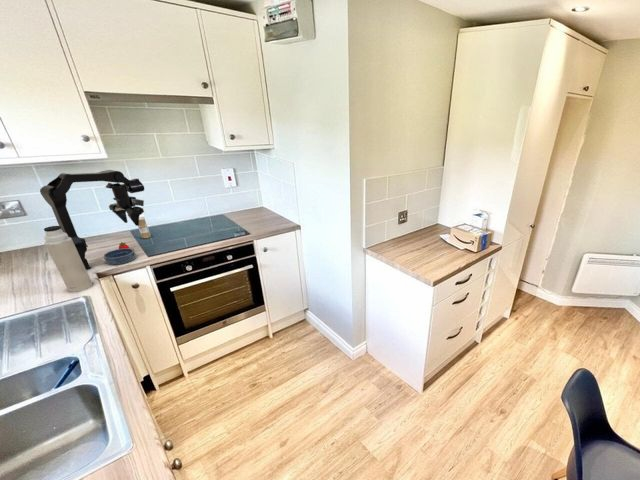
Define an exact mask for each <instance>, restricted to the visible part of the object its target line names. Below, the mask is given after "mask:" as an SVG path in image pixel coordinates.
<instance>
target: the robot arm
mask: <svg viewBox="0 0 640 480" xmlns="http://www.w3.org/2000/svg"><path fill="white" fill-rule="evenodd" d="M91 182H107V184H106V185H105V188H106V189H111V191H112V193H113V197H112V200H114V201H115V202H114V203H111V204H108V205H109V206H108V208H109V211H111V212H112V213H114V215H116V216H117V217H118V218H119V219H120V220H121V221H122V222H124V223H125V224H127V223H128V218H129V219H130V220H131V222H132V223H133V224H134V225H135V226H136V227H138V225H139V216H140V215H143V213H145V210H144V208H143V207H144V204H145V200H144V199H140V198H139V199H138V198H136V196H130V195H129V193H130V194H136V193H141V192H144V191H145V185H144V184H143V183H142V182H141V181H140V178H132V179H129V178H127V177H126V176H125V175H124V173H123V172H121V171H120V170H114V169H105V170H101V171H98V172H74V173H73V172H72V173H70V172H69V173H66V172H62V173H60V174H58V176H57V177H55V178H54V179H52V180H51V181H49V183H47V185H43V186H42V187H41V188H40V189H39V193H40V195H41V196H42V197H43V199H44V201H45V202H46V203H47V204H48V205H49V206H50V207H51V209H52V212H53V214H54V217H55V219H56V222H57V225H58V226H61V229H62V231H63V232H64V233H67V234H68V237H70V238H71V239H72V241H73V243H74V245H75V247H76V249H77V251H78V254H79V256H80V258H81V260H82V262H83V264H84V267H85V269H86V271H88V270H90V269H92V267H91V266H90V264H89V261H88V259H87V258H86V253H87V251H88V247H89V245H87V243H86V241H87V240H86V238H84V237H80V236H78V234H77V230H76V229H75V226H74V223H73V221H72V219H71V216H70V214H69V211H68V208H67V202H68V199H67V193H68V192H69V191H70V189H71V187H72V185H73V184H74V183H91ZM127 216H128V217H127Z"/></svg>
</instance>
